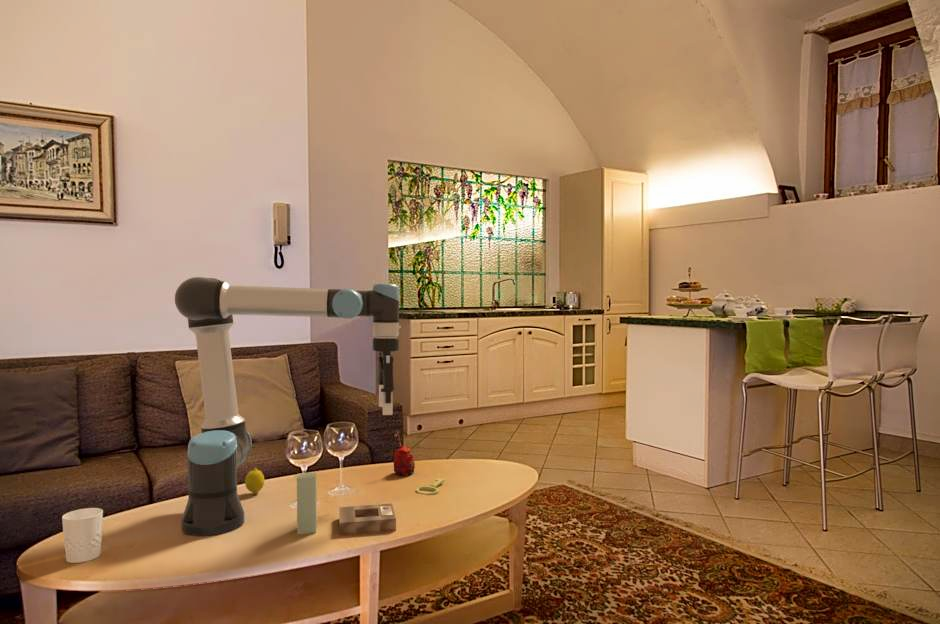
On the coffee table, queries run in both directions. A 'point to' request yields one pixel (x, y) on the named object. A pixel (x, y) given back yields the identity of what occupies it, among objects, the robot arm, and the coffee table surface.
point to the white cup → (82, 534)
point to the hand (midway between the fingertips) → (385, 410)
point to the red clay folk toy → (403, 460)
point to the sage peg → (306, 503)
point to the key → (430, 488)
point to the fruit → (254, 481)
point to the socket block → (366, 519)
